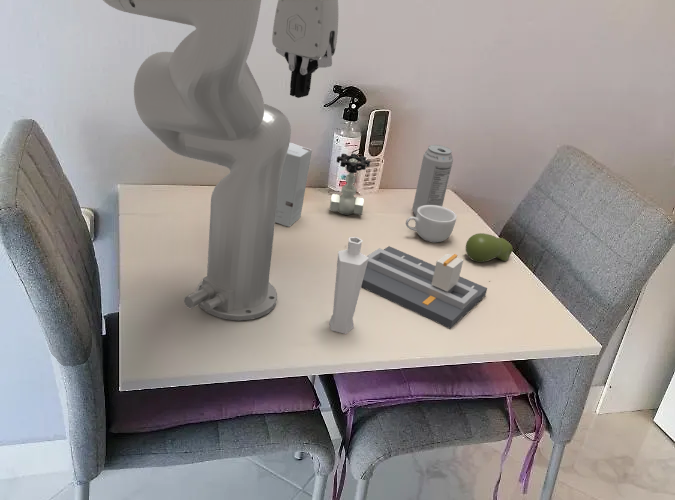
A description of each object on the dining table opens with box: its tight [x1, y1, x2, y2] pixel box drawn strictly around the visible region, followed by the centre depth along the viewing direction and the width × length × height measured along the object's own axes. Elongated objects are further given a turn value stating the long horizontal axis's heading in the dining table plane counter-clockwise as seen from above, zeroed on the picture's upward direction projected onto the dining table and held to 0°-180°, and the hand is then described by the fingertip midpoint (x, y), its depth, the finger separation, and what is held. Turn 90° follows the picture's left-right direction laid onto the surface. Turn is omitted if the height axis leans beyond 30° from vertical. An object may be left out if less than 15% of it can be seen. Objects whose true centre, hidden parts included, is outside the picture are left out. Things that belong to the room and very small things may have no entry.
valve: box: [329, 153, 371, 216], centre depth 138 cm, size 7×7×12 cm
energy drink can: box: [412, 144, 454, 217], centre depth 142 cm, size 6×6×15 cm
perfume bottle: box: [329, 236, 369, 335], centre depth 102 cm, size 5×4×15 cm
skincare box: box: [275, 142, 313, 227], centre depth 132 cm, size 8×6×15 cm
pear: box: [465, 232, 514, 263], centre depth 131 cm, size 6×5×10 cm
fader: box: [431, 252, 464, 293], centre depth 114 cm, size 4×3×6 cm
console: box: [361, 245, 488, 329], centre depth 118 cm, size 14×20×3 cm
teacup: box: [405, 205, 458, 243], centre depth 135 cm, size 10×8×5 cm
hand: (299, 95), depth 115 cm, fingers closed
